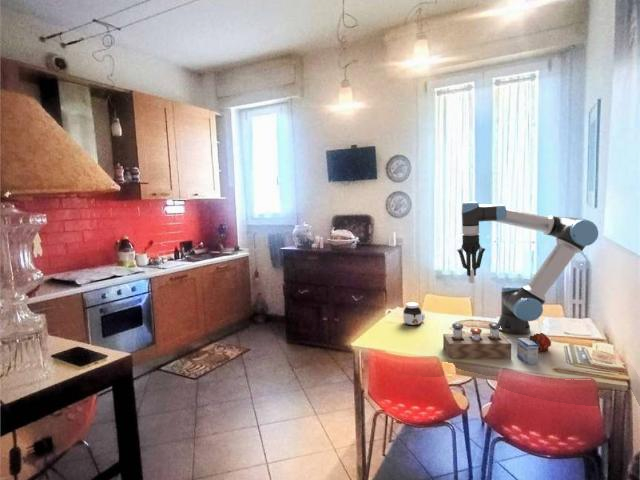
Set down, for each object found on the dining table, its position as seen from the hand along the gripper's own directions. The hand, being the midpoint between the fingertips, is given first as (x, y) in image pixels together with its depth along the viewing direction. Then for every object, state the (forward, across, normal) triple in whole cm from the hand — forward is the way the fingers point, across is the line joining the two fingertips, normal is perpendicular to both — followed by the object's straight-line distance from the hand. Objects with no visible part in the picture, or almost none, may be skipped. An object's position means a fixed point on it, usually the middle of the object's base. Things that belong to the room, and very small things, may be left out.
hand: (471, 282), depth 186 cm
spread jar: (+29, +23, -26) cm, 45 cm away
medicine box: (+29, -14, +26) cm, 41 cm away
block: (+29, +5, +17) cm, 34 cm away
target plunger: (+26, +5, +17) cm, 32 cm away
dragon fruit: (+29, -25, +15) cm, 41 cm away
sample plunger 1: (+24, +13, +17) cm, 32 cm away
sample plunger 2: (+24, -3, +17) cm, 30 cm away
